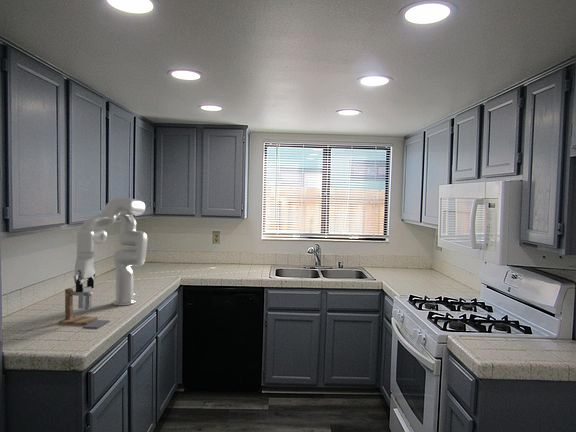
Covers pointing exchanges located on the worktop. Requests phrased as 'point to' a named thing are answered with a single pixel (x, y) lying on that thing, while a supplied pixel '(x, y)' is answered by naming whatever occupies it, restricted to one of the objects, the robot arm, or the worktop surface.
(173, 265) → the worktop surface
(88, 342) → the worktop surface
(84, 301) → the grey u-shaped bracket
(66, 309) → the hook stand
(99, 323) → the rubber mat
